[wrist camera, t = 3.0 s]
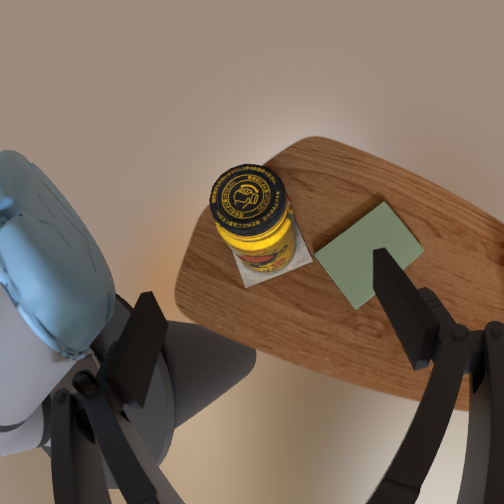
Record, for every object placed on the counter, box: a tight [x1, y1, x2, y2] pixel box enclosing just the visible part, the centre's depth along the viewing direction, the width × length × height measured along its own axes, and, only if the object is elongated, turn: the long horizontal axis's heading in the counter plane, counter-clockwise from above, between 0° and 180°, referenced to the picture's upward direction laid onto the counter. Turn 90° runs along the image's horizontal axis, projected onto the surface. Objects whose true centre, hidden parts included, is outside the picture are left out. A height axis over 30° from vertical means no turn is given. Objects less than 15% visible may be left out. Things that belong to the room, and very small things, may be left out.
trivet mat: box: [314, 201, 424, 310], centre depth 28 cm, size 10×7×1 cm
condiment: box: [209, 164, 313, 288], centre depth 25 cm, size 7×8×12 cm
